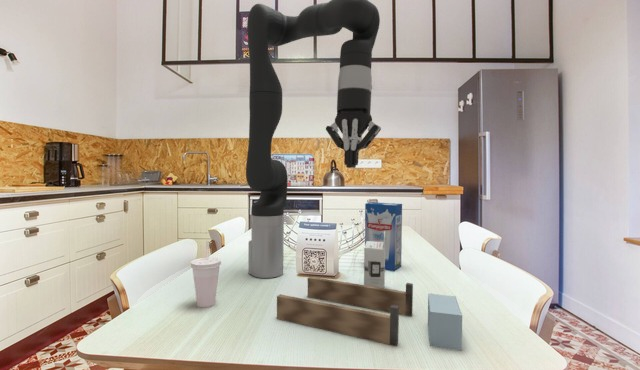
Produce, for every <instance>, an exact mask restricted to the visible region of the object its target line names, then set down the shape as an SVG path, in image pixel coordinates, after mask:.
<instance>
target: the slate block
mask: <svg viewBox="0 0 640 370" xmlns="http://www.w3.org/2000/svg"><path fill="white" fill-rule="evenodd" d="M427 296H428V297H427V330H428V331H427V332H428V341H429V342H428V343H429V347H434V348H442V349H447V350H448V349H449V350H455V351H462V349H463V347H462V343H463V340H462V339H463V338H462V337H463V314H462V311H461V308H460V305H459V302H458V298H457V297H456V296H455V295H446V294H435V293H427Z"/></svg>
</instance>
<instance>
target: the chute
mask: <svg viewBox="0 0 640 370" xmlns="http://www.w3.org/2000/svg"><path fill="white" fill-rule="evenodd" d="M413 293H414V284H413V283H411V282H406V284H405V290H404V291H403V290H399V289H398V290H397V289H391V288H386V287H384V288H379V287H373V286H366V285H364V284H358V283H353V282H345V281H341V280H340V281H339V280H333V279H326V278H323V277H322V278H320V277H315V276H309V277H307V298H311V299H312V300H311V299H306V298H302V297H295V296H291V295H285V294H279V295H277V296H276V319H278V320H282V321H286V322H291V323H295V324H298V325H304V326H308V327H313V328H316V329H319V330H320V329H321V330H324V331H330V332H334V333H338V334H344V335H347V336H351V337H355V338H360V339H363V340H369V341H373V342H378V343H380V344H381V343H382V344H387V345H389V346H396V347H398V344H399V332H400V331H399V327H400V325H399V324H400V323H399V322H400V321H399V320H400V319H399V318H400V317H399V316H400V315H402V316H408V317H412V315H413V303H414V300H413V299H414V297H413ZM313 299H317V300H321V301H316V300H313ZM322 301H326V302H327V301H328V302H333V303H338V304H342V305H343V306H342V305H338V304H332V303H328V302H327V303H326V302H322ZM344 305H348V306H354V308H353V307H348V306H344ZM355 307H358V308H355ZM359 308H364V309H371V310H375V311H379V312H380V311H381V312H386V313H389V314H385V313H379V312H374V311H370V310H364V309H359Z"/></svg>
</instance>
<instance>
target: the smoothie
mask: <svg viewBox="0 0 640 370" xmlns="http://www.w3.org/2000/svg"><path fill="white" fill-rule="evenodd" d="M205 243H206V244H205V245H206V247H205V248H206V251H205V252H206V253H205V254H206V256H205V257H201V258H200V257H199V258H195V259H193V260H191V261H190V268H191V269H192V275H193V282H194V289H195V297H196V298H195V299H196V305H197V307H198V308H210V307H213V306H214V305H215V304H216V297H217V290H218V281H219V273H220V266H221V265H222V260H221V259H220V258H218V257H211V256H210V240H206V242H205Z"/></svg>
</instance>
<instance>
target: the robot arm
mask: <svg viewBox="0 0 640 370" xmlns="http://www.w3.org/2000/svg"><path fill="white" fill-rule="evenodd" d="M380 22H381V18H380V12H379V10H378V7H377V6H376V5H375V4H374V3H372V2H371V1H370V0H329V1H327V2H322V3H318V4H317V3H316V4H312V5H309V6H307V7H305V8H304V9H302V10H301V11H300V13H299V14H298V15H297V16H296V15H295V16H291V15H285V14H283V13H282V12H280V11H279V10H276V9H274V8H273V7H269V6H267V5H265V4H263V3H256V4H254V5H253V6H251V9H250V10H249V13H248V16H247V22H246V25H247V26H246V33H247V44H248V45H247V46H248V55H249V96H248V97H249V98H248V99H249V103H248V105H249V106H248V107H249V125H248V126H249V128H248V147H247V148H248V149H247V156H246V164H245V165H246V166H245V179H246V182H247V185H248V187H250V189H251V190H252V191H254V192H259V198H258V199H257V201H255V203H253V204H252V206H251V232H250V233H251V234H250V235H251V239H250V240H249V241H248V261H247V262H248V265H247V267H248V269H247V271H248V275H251V276H253V277H255V278H261V279H271V278H277V277H281V276H282V275H283V274H284V269H285V268H284V267H285V266H284V257H285V255H284V249H285V248H284V245H285V244H284V242H285V241H284V239H285V237H284V232H285V231H284V230H285V229H284V226H285V225H284V224H285V223H284V222H285V221H284V217H285V213H284V211H285V208H286V204H287V199H288V197H287V196H288V181H289V180H288V172H287V168H286V166H285V163H284V162H282V161H280V160H279V159H278V160H277V159H272V141H273V137H274V134H275V132H276V130H277V127H278V125H279V123H280V120H281V118H282V114H283V88H282V84H281V82H280V80H279V79H280V78H278V74H277V72H276V70H275V68H274V66H273V63H272V61H271V57H270V52H269V46H271V47H281V46H283V45H287V44H289V43H293V42H295V41H299V40H302V39H306V38H312V37H322V36H323V37H324V36H325V37H326V36H333V35H337V34H338V33H339V32H340V31H342V29H347V30H348V31H350V32H351V33H352V39H348V40H346V41H344V42H343V43H342V44H341V47H340V53H339V54H340V55H339V73H338V79H337V93H336V94H337V97H336V98H337V99H336V100H337V101H336V116H335V117H334V122H333V123H332V124H331V125H326V127H325V131H326V132H327V134H328V135H329V137H330V138H331V140H332V141H333V143H334V144H335V145H336V147H337V148H340V149H342V150H344V159H343V161H344V162H343V164H344V165H345V166H346V168H349V169H355V168H356V166H358V165H359V153H360V151H361V150H364V149H367V148H368V146H370V144H371V143H372V141H374V139H375V138H376V136H378V134H379V132H380V131H381V130H382V128H381V126H379V125H378V124H376V123H374V121H373V117H372V115H371V107H372V89H373V84H372V83H373V82H372V81H373V80H372V77H373V76H372V58H373V57H372V56H373V49H374V46H375V43H376V39H377V35H378V33H379V32H378V31H379V29H380ZM339 131H340V133H341V134H342V137H341V136H340V134H339ZM366 131H367V133H366ZM364 133H365V136H364V137H363V135H364Z"/></svg>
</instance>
